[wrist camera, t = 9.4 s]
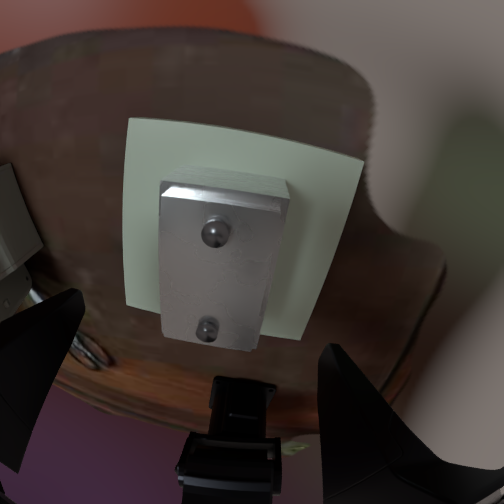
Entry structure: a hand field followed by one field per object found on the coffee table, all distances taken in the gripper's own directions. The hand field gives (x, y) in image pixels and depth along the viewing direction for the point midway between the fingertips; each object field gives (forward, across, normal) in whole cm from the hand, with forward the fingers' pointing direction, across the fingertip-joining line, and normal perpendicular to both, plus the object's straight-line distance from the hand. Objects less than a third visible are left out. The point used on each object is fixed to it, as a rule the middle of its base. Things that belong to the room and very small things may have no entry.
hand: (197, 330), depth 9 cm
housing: (+7, 0, 0) cm, 7 cm away
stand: (+11, 0, 0) cm, 11 cm away
